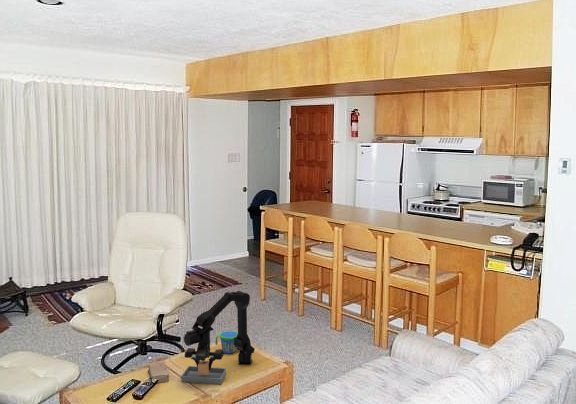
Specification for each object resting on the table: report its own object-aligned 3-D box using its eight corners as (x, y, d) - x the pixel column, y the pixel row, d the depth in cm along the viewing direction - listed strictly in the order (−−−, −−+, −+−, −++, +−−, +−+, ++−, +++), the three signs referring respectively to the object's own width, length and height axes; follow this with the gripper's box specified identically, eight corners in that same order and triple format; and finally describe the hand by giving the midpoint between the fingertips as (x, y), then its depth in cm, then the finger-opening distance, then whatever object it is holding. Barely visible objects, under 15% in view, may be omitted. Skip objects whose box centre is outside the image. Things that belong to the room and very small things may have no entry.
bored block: (210, 370, 265) (210, 360, 265) (207, 374, 260) (207, 364, 260) (200, 369, 266) (200, 360, 265) (198, 373, 261) (198, 364, 260)
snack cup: (245, 349, 299) (245, 332, 298) (238, 357, 289) (238, 339, 288) (220, 346, 304) (220, 329, 302) (212, 353, 293) (212, 335, 292)
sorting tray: (226, 374, 268) (226, 368, 268) (220, 384, 256) (220, 379, 256) (188, 371, 270) (188, 365, 270) (181, 382, 259) (181, 376, 258)
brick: (169, 382, 259) (169, 373, 258) (152, 384, 256) (151, 375, 255) (164, 368, 274) (164, 360, 274) (148, 370, 271) (148, 362, 271)
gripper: (181, 345, 254) (181, 376, 256) (218, 347, 252) (218, 378, 254) (187, 336, 265) (188, 366, 267) (223, 339, 263) (223, 368, 265)
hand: (204, 370), depth 263 cm, fingers closed on bored block, 5 cm apart
